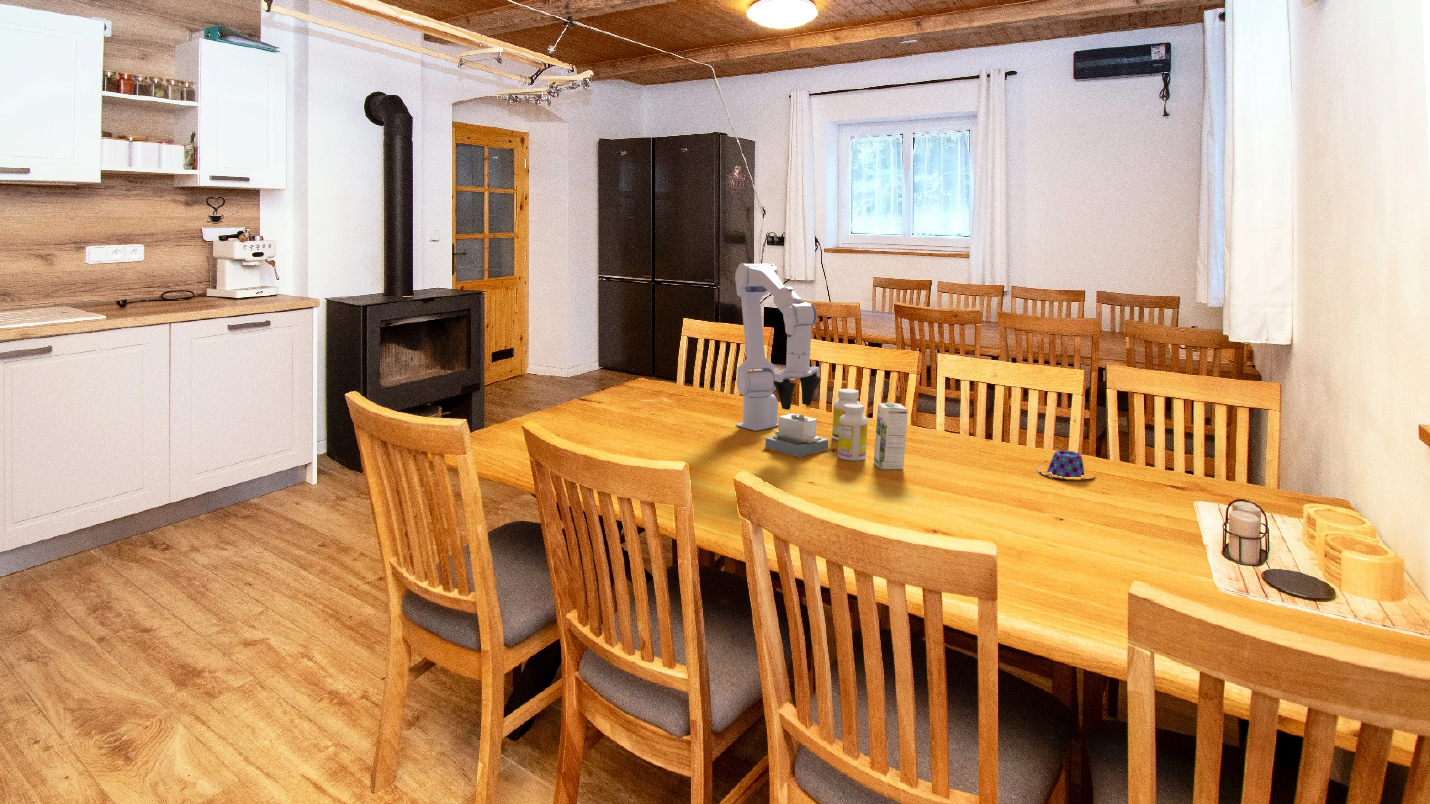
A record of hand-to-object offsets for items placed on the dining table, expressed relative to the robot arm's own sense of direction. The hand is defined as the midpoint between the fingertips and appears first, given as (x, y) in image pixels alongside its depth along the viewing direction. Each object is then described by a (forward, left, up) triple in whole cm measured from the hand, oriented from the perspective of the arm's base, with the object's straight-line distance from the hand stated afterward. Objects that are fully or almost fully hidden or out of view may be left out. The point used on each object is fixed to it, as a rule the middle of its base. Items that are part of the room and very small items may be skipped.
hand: (796, 406), depth 208 cm
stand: (+1, +1, -10) cm, 10 cm away
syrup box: (-4, +25, -11) cm, 28 cm away
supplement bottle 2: (-3, +15, -11) cm, 19 cm away
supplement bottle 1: (-16, +3, -11) cm, 20 cm away
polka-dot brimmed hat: (-30, +55, -11) cm, 64 cm away
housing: (+1, +1, -8) cm, 8 cm away
